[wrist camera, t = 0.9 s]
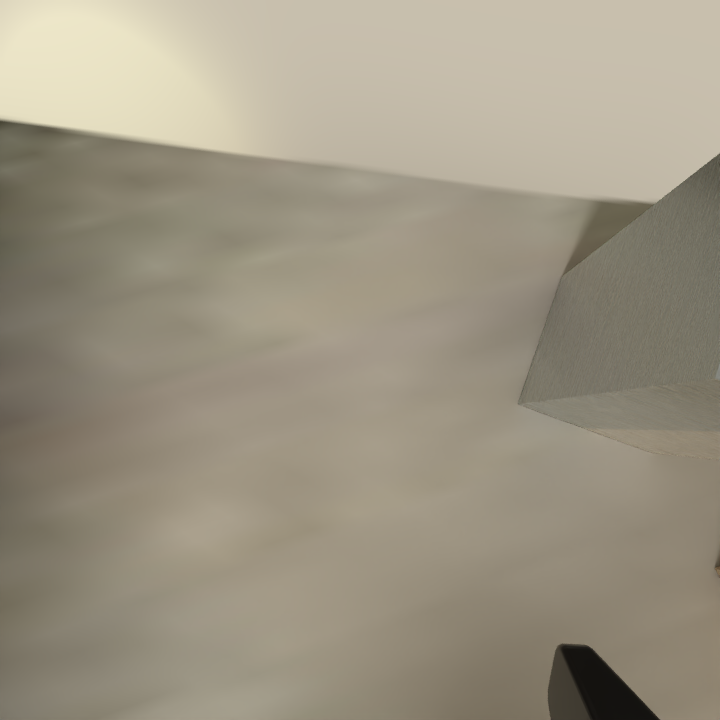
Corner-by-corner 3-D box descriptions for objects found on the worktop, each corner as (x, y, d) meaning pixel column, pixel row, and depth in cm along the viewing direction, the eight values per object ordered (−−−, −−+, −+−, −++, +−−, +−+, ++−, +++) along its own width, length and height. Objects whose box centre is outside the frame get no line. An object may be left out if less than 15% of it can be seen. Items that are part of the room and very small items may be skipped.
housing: (693, 322, 23) (1123, 186, 10) (651, 452, 22) (1042, 494, 9) (561, 276, 23) (806, 85, 10) (517, 404, 22) (715, 378, 9)
